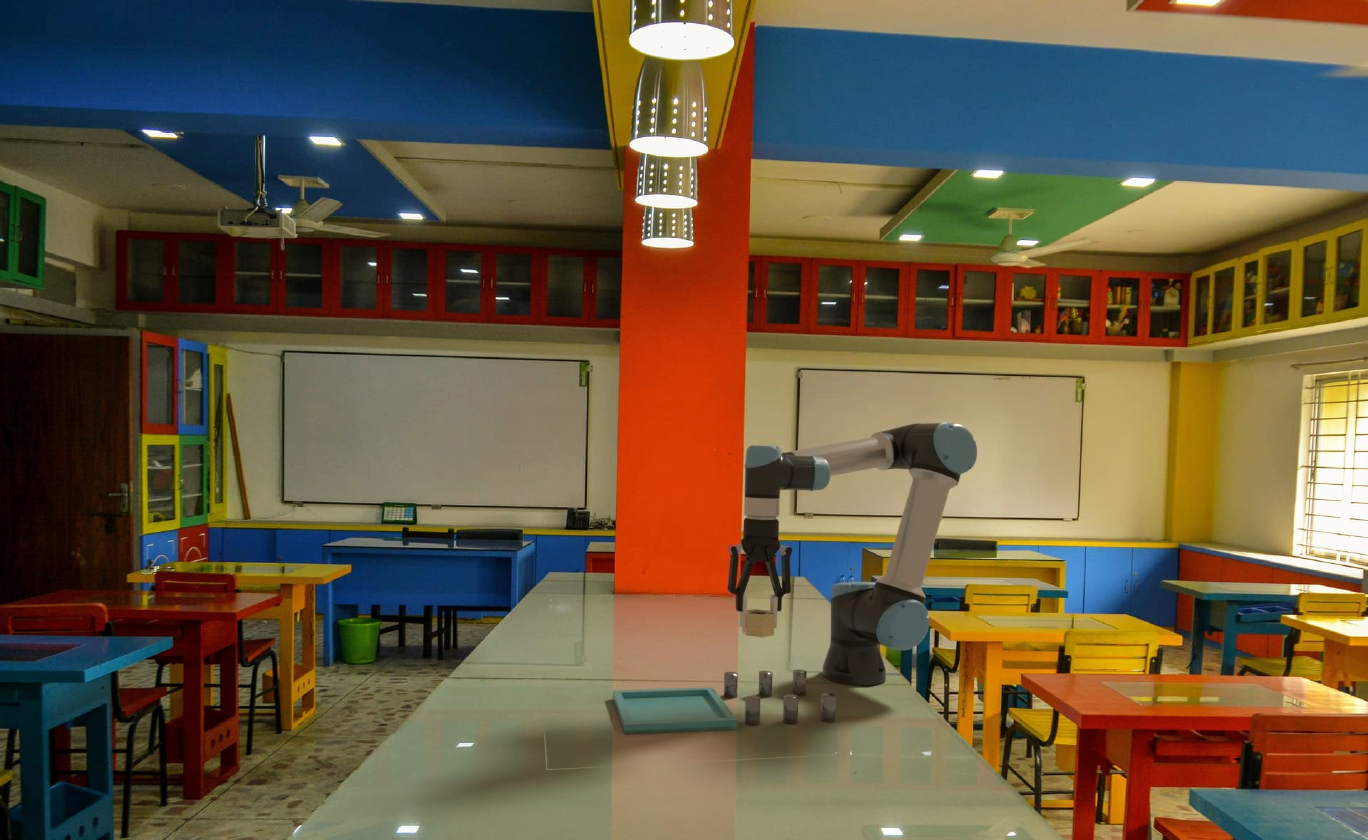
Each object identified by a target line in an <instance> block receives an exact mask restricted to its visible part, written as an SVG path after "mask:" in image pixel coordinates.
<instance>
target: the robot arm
mask: <svg viewBox="0 0 1368 840" xmlns="http://www.w3.org/2000/svg"><path fill="white" fill-rule="evenodd" d="M977 456H978V445H977V441H976V440H975V439H974V435H973V434H972V432H971V431H970V430H969V428H967V427H966V426H964V425H962V424H959V423H954V422H953V423H952V422H948V421H947V422H946V421H944V422H937V423H936V422H933V423H930V422H927V423H910V424H905V425H902V426H898V427H894V428H890V429H887V430H881V431H877V432H874V433H872V435H870V437H866V438H861V439H855V440H849V441H843V442H842V441H841V442H837V443H832V444H825V445H820V446H815V447H814V446H813V447H807V448H802V449H797V450H791V451H790V450H789V451H787V452H782V449H781V447H780V446H778V445H761V444H760V445H756V444H755V445H754V444H753V445H749V446H748V447H747V448H746V453H745V463H744V470H745V471H744V502H743V503H744V505H743V515H744V516H746V517H745V518H744V519H743V530H742V531H743V533H742V534H743V535H742V540H741V541H740V543H739V544H734V545H732V544H730V545H729V546H728V552H729V555H730V558H729V569H728V578H727V591H728V592H729V593H731V594H733V595H735V610H736V611H737V612H739V627H741V629H742V628H746V619H747V610H748V597H747V596H746V595H745V592H746V590H747V587H748V582H749V580H750V577H751V574H752V570H753V568H754V566H755V565H756V563H759V562H764V563H765V565H766V568H767V572H768V575H769V579H770V583H771V587H772V591H773V593H774V594H770V600H769V601H770V603H769V605H770V606H769V611H771V612H772V613H774V614H775V618H774V629H777V627H778V612H782V605H783V604H782V603H783V597H784V596H785V595H786V594H791V592H792V590H791V589H792V585H791V584H792V582H791V556H792V552H793V547H791V546H788V545H782V544H781V542H780V540H779V535H780V534H779V533H780V532H779V531H780V529H779V528H780V521H779V519H777V518H778V517H779V516H780V499H781V491H810V492H814V491H821V490H824V489H826V488H827V487H828V485H829V483H830V480H831V477H834V476H838V475H839V476H840V475H843V474H848V473H854V472H855V473H856V472H860V471H865V470H871V469H875V468H876V469H878V470H879V471H888V470H908V473H909V475H910V477H911V478H912V481H911V484H910V488H909V493H908V495H907V498H906V502H905V505H904V509H903V513H902V515H901V519H900V523H899V526H898V529H897V533H896V536H895V539H894V542H893V546H892V549H891V552H890V556H889V559H888V563H887V567H886V569H885V573H884V576H882V577H879V579H877V580H875V581H848V582H838V583H834V584H833V586H832V587H831V592H830V600H829V601H830V644H829V648H828V649H827V650H828V651H827V653H826V655H825V656H826V657H825V659H824V661H823V664H822V676H823V677H824V678H825V679H826V680H828V681H831V682H834V683H838V684H842V685H848V686H849V685H850V686H873V685H874V686H875V685H879V684H883V683H885V682H886V680H887V670H886V666H885V663H884V659H883V656H882V653H881V650H880V645H881V646H882V647H884V648H888V649H891V650H897V651H908V650H911V649H913V648H914V647H917V646H918V645H919V644H921V643H922V641H923V640H924V639H925V637H926V636H927V634H928V631H929V627H930V616H929V615H928V614H929V612H928V609H927V608H926V606H925V605H924V604H925V601H926V598H927V597H926V595H925V593H924V591H923V583H924V581H925V576H926V573H927V569H928V565H929V562H930V559H931V555H932V552H933V548H934V546H935V545H934V544H935V541H936V537H937V535H938V531H939V528H940V525H941V524H940V523H941V522H942V521H941V520H942V517H943V514H944V510H945V507H946V503H947V499H948V495H949V492H950V490H952V489H954V488H956V487H957V486H958V485H959V483H960V479H961V475H962V474H965V473H967V472H968V471H969V470H972V468H974V466H975V464H976V462H977V458H978V457H977ZM742 550H743V552H744V553H745V555H746V557H745V560H744V565H743V568H742V571H741V574H740V578H739V580H738V570H739V561H740V560H739V558H740V556H739V555H741V551H742ZM778 551H779V554H780V555H781V556H780V564H781V565H780V566H781V572H780V573H781V583H780V578H779V574H778V570H777V568H776V562H775V557H774V556H775V555H776V554H777V553H778ZM737 582H738V583H737Z"/></svg>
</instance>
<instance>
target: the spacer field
mask: <svg viewBox="0 0 1368 840" xmlns="http://www.w3.org/2000/svg"><path fill="white" fill-rule="evenodd" d="M723 675H724V677H723V678H724V679H723V697H724V698H727V699H736V698H738V686H739V685H738V683H739V682H738V681H739V680H738V679H739V673H738V672H735V671H725V672H724V673H723ZM807 676H808V675H807V670H805V669H794V670H792V694H790V693H788V694H784V695H783V704H782V707H783V709H782V713H783V714H782V722H783V723H784V724H788V725H795V724H798V723H799V696H801V697H804V696H806V695H807ZM772 696H773V672H772V671H770V670H760V671H758V696H756V695H747V696H745V697H744V698H745V700H744V724H745V725H747V726H751V727H752V726H754V727H755V726H760V724H761V697H762V698H771V697H772ZM836 702H837V695H836V694H834V693H830V692H824V693H821V694H820V721H822V722H824V723H835V722H836V712H837V711H836V710H837V709H836V706H837V705H836V704H837V703H836Z"/></svg>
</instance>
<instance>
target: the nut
mask: <svg viewBox="0 0 1368 840" xmlns="http://www.w3.org/2000/svg"><path fill="white" fill-rule="evenodd" d="M774 618H775V614H774V613H772V612H771V611H770V609H768V610H766V609H758V608H756V609H755V608H753V609H752V608H751V609H747V619H746V628H742V627H741V629H742V630H741V631H742V632H741V633H742V634H744V635H745V636H746V637H747V636H749V637H757V638H767V637H772V636H775V628H774Z"/></svg>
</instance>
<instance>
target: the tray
mask: <svg viewBox="0 0 1368 840" xmlns="http://www.w3.org/2000/svg"><path fill="white" fill-rule="evenodd" d="M612 701H613V703H614V706H615V709H616V712H617V715H618V718H619V721H620V723H621V724H620V725H621V726H622V729H623V732H624V735H635V734H636V735H639V734H641V735H642V734H659V733H662V734H663V733H682V732H686V733H687V732H701V731H702V732H703V731H704V732H706V731H728V730H729V731H730V730H738V720H739V719H737V717H736V716H735V714H734V713H733V711H731V709H730V708H729V707H728V706H727V704H726V703H725V701H724V700H723V698H721V696H720V695H719V693H717V691H716V690H715V688H714V687H712V686H709V687H708V686H707V687H681V688H653V689H652V688H651V689H649V688H648V689H624V690H622V689H620V690H612Z"/></svg>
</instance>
